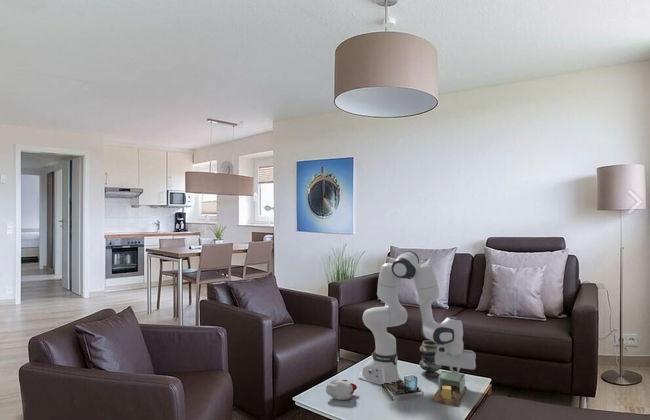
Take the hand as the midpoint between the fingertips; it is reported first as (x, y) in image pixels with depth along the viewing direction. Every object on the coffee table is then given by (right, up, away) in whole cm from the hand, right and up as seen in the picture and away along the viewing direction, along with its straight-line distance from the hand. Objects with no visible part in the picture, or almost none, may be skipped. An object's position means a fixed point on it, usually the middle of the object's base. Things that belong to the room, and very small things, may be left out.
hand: (455, 375), depth 218 cm
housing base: (-6, -5, -12) cm, 14 cm away
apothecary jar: (-9, -6, +15) cm, 18 cm away
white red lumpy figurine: (-58, -6, -13) cm, 60 cm away
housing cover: (-4, -3, -8) cm, 9 cm away
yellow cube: (-9, -4, -17) cm, 20 cm away
